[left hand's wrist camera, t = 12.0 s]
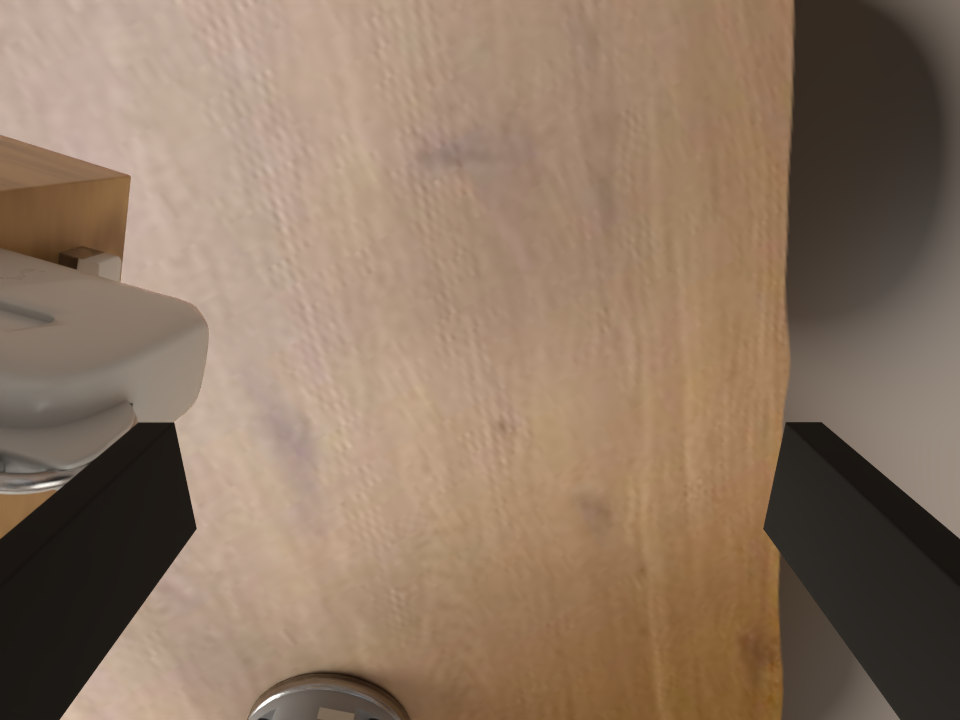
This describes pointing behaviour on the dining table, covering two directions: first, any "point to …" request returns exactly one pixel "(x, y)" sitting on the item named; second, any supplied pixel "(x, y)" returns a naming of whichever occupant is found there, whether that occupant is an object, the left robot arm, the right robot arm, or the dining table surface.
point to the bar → (55, 231)
